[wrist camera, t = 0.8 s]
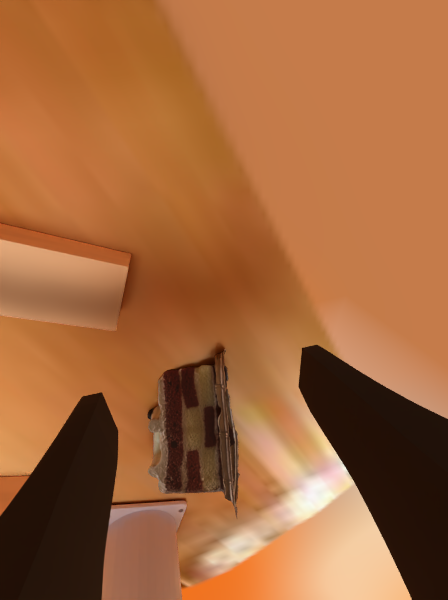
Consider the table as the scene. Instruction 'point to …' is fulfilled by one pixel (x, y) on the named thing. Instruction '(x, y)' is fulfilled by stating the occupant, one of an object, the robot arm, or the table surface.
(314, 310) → the table surface
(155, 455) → the chocolate cake
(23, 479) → the shelf board
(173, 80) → the table surface
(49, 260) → the shelf board
